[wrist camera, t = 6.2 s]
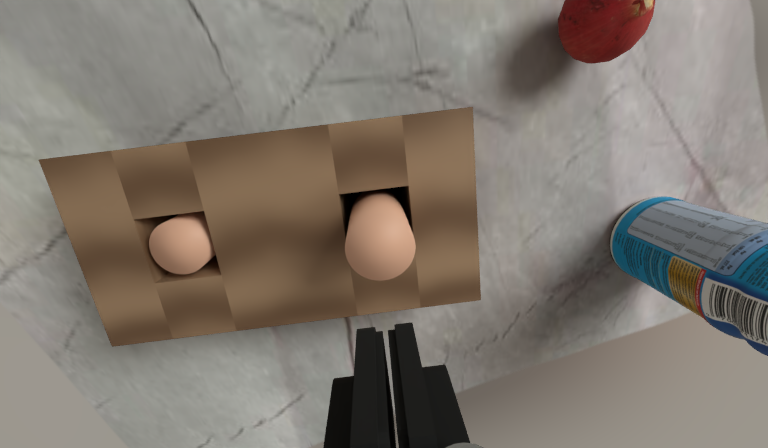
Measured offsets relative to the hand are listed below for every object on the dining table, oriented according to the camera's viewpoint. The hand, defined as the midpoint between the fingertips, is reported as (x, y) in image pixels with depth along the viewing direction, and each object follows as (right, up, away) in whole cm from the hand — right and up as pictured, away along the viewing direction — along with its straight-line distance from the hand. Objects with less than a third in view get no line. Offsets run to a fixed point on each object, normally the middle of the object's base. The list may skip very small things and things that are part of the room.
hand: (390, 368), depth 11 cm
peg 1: (-15, +5, +21) cm, 26 cm away
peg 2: (-1, +5, +17) cm, 17 cm away
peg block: (-8, +6, +22) cm, 24 cm away
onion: (+16, +20, +19) cm, 32 cm away
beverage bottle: (+26, +3, +24) cm, 35 cm away
